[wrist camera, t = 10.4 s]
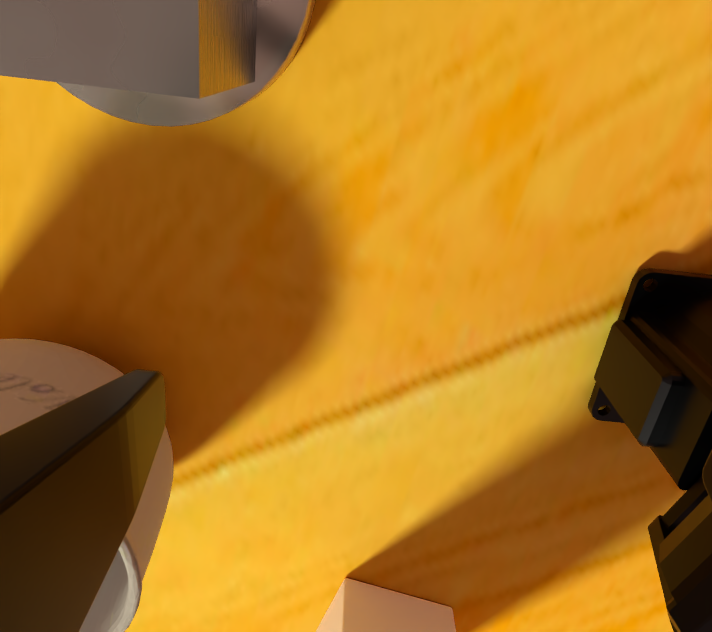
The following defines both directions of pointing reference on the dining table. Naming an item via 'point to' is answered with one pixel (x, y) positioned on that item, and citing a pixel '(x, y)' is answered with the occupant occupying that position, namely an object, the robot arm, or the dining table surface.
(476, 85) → the dining table surface
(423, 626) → the milk
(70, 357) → the teacup
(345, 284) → the dining table surface
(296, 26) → the pan with red handle
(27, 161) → the dining table surface
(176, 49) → the matte grey cube
